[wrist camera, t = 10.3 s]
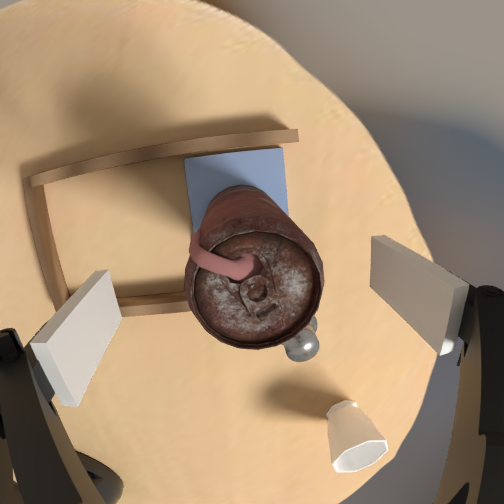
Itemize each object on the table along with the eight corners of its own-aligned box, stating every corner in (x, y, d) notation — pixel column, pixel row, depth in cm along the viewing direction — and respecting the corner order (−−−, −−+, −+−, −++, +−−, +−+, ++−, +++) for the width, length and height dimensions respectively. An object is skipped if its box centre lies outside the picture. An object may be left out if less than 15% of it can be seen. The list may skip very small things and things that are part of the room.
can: (221, 170, 24) (213, 190, 11) (290, 204, 25) (356, 262, 12) (189, 236, 26) (154, 324, 12) (257, 266, 27) (285, 372, 14)
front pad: (203, 285, 28) (202, 287, 27) (184, 158, 24) (183, 159, 24) (291, 274, 28) (292, 276, 27) (281, 147, 24) (282, 147, 24)
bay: (67, 310, 27) (59, 320, 25) (34, 176, 23) (22, 179, 21) (302, 287, 28) (307, 296, 26) (292, 130, 24) (297, 128, 22)
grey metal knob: (273, 346, 30) (279, 371, 26) (270, 308, 29) (276, 331, 25) (315, 339, 30) (326, 363, 27) (315, 302, 29) (327, 323, 25)
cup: (348, 384, 33) (371, 432, 25) (386, 411, 36) (408, 452, 28) (304, 417, 34) (319, 466, 27) (347, 439, 37) (363, 481, 29)
